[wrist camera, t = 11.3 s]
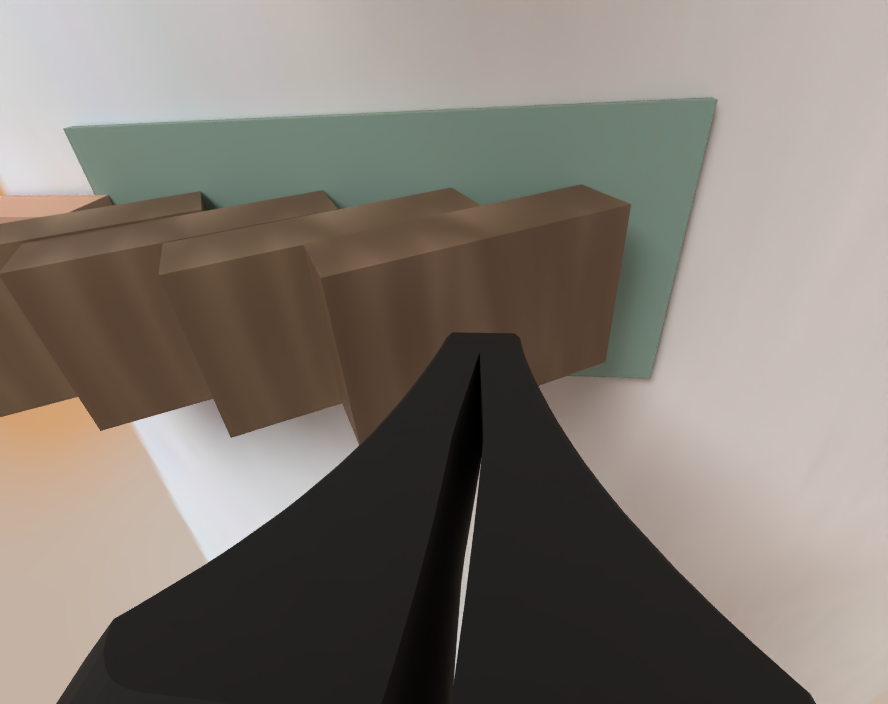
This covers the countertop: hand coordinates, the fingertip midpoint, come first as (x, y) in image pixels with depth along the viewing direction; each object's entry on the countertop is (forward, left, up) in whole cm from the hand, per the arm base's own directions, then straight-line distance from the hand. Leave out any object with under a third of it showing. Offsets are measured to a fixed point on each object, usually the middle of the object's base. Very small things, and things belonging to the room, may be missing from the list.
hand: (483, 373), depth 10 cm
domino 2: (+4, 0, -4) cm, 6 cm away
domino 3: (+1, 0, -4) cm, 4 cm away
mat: (+3, 0, -5) cm, 6 cm away
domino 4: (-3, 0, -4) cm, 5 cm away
